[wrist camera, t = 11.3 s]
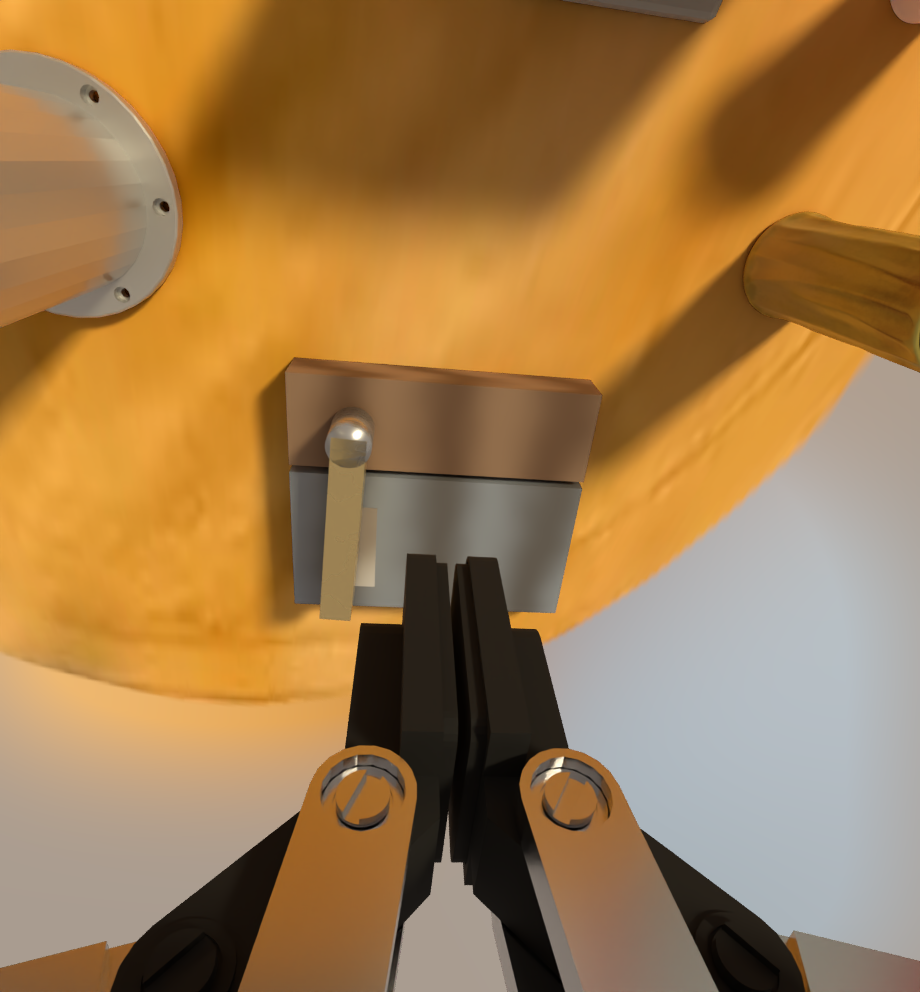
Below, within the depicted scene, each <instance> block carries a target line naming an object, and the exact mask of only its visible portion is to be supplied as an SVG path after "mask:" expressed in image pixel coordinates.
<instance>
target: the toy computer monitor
mask: <svg viewBox="0 0 920 992" xmlns="http://www.w3.org/2000/svg"><path fill="white" fill-rule="evenodd" d="M563 1H569V2H575V3H581V4H587V5H594V6H600V7H606V8H612V9H618V10H624V11H631V12H637V13H643V14H649V15H655V16H662V17H668V18H674V19H680V20H686V21H692V22H699V23H706V22H708V21H710V20H711V19H713V18H714V17H716V14H717V12H718V10H719V7H720V5H721V2H722V0H563Z"/></svg>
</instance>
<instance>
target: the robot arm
mask: <svg viewBox="0 0 920 992" xmlns="http://www.w3.org/2000/svg"><path fill="white" fill-rule="evenodd" d="M95 91H97V92H98V95H99V102H98V103H97V102H96V101H95V100H94V97H93V93H94V92H95ZM164 201H165V202H167V203H168V205H169V207H170V210H169V211H166V210H165V209H164V208H163V202H164ZM182 230H183V217H182V202H181V198H180V194H179V189H178V185H177V181H176V177H175V175H174V172H173V170H172V167H171V165H170V163H169V160H168V158H167V155H166V153H165V151H164V149H163V148H162V146H161V145H160V143H159V141H158V140H157V138H156V136H155V135H154V133H153V131H152V130H151V128H150V127H149V126H148V124H147V123H146V122H145V121H144V120H143V118H142V117H141V116H140V115H139V114H138V112H137V111H136V110H135V109H134V108H133V106H132V105H131V104H129V103H128V102H127V101H126V100H125V99H124V98H123V97H122V96H120V95H119V94H118V93H117V92H116V91H115V90H114V89H113V88H111V87H110V86H109V85H108V84H106V83H104V82H103V81H101V80H100V79H98V78H97V77H95V76H94V75H92V74H90V73H89V72H87V71H86V70H84V69H81V68H79V67H77V66H75V65H72V64H70V63H68V62H65V61H63V60H61V59H58V58H54V57H50V56H46V55H43V54H39V53H35V52H26V51H18V50H2V51H0V328H1V327H4V326H6V325H9V324H11V323H14V322H16V321H19V320H21V319H24V318H26V317H29V316H31V315H34V314H36V313H39V312H41V311H44V310H45V311H48V312H50V313H53V314H58V315H64V316H70V317H76V318H99V317H103V316H108V315H113V314H117V313H120V312H123V311H125V310H127V309H129V308H132V307H134V306H135V305H137V304H139V303H141V302H142V301H144V300H145V299H147V298H149V297H150V296H151V295H152V294H153V293H154V292H155V291H156V290H157V289H158V288H159V287H160V286H161V285H162V284H163V283H164V282H165V280H166V278H167V277H168V275H169V273H170V272H171V270H172V269H173V267H174V264H175V261H176V258H177V255H178V253H179V250H180V246H181V238H182ZM125 288H126V289H127V290H128V291H129V293H130V296H128V295H127V294H125ZM448 814H449V836H450V855H451V862H463V869H464V885H473V894H474V895H475V896H476V897H477V898H478V899H479V900H480V901H481V902H482V903H483V904H484V905H485V906H486V907H487V908H489V909H490V910H491V915H492V927H493V932H494V936H495V940H496V945H497V949H498V953H499V957H500V962H501V966H502V971H503V975H504V979H505V984H506V988H507V992H920V961H918V960H914V959H910V958H905V957H901V956H897V955H893V954H889V953H885V952H880V951H877V950H872V949H868V948H864V947H860V946H856V945H852V944H848V943H844V942H839V941H835V940H831V939H827V938H823V937H818V936H815V935H810V934H806V933H802V932H798V931H793V932H792V934H791V936H790V937H786V936H782V935H778V934H777V933H776V932H775V931H774V930H772V929H771V928H770V927H769V926H768V925H767V924H766V923H765V922H764V921H763V920H762V919H760V918H759V917H758V916H757V915H755V914H754V913H753V912H751V911H750V910H748V909H747V908H746V907H745V906H743V905H742V904H741V903H739V902H738V901H737V900H735V899H734V898H733V897H731V896H730V895H729V894H727V893H726V892H725V891H723V890H722V889H721V888H719V887H718V886H717V885H715V884H714V883H713V882H711V881H710V880H709V879H707V878H706V877H704V876H703V875H702V874H701V873H699V872H698V871H697V870H695V869H694V868H693V867H691V866H690V865H689V864H687V863H686V862H684V861H683V860H682V859H681V858H679V857H678V856H677V855H675V854H674V853H673V852H671V851H670V850H668V849H667V848H666V847H664V846H663V845H662V844H660V843H659V842H658V841H656V840H655V839H654V838H652V837H651V836H650V835H648V834H647V833H646V832H644V831H643V830H642V829H640V828H639V825H638V824H637V821H636V819H635V817H634V815H633V813H632V811H631V809H630V807H629V805H628V803H627V801H626V799H625V797H624V794H623V793H622V790H621V788H620V786H619V784H618V783H617V782H616V780H615V779H614V777H613V775H612V774H611V772H610V771H609V770H607V769H606V768H605V767H604V766H603V765H602V764H601V763H600V762H599V761H597V760H596V759H594V758H592V757H590V756H588V755H587V754H585V753H582V752H579V751H575V750H572V749H569V748H568V744H567V740H566V736H565V732H564V728H563V724H562V720H561V716H560V712H559V709H558V704H557V701H556V697H555V693H554V689H553V685H552V681H551V677H550V673H549V669H548V665H547V662H546V658H545V654H544V650H543V646H542V642H541V638H540V635H539V632H538V631H537V630H536V629H516V628H511V625H510V620H509V615H508V610H507V605H506V600H505V595H504V590H503V585H502V580H501V574H500V569H499V564H498V560H497V558H495V557H473V556H468V557H467V559H466V564H457V563H456V565H455V571H454V580H453V588H452V597H451V606H450V595H449V580H448V566H447V563H437V561H436V555H430V554H408V553H407V559H406V574H405V589H404V604H403V620H402V625H400V624H371V623H361V626H360V633H359V641H358V649H357V657H356V665H355V673H354V681H353V689H352V697H351V705H350V713H349V721H348V729H347V737H346V745H345V749H343V750H341V751H340V752H338V753H336V754H334V755H332V756H331V757H329V758H328V759H327V760H326V761H325V762H324V763H323V764H322V765H321V766H320V767H319V768H318V769H317V771H316V773H315V775H314V776H313V778H312V780H311V782H310V784H309V788H308V790H307V793H306V796H305V799H304V802H303V805H302V808H301V810H300V811H299V812H298V813H297V814H296V815H294V816H293V817H292V818H290V819H289V820H288V821H287V822H285V823H284V824H283V825H281V826H280V827H279V828H278V829H276V830H275V831H274V832H272V833H271V834H270V835H269V836H267V837H266V838H265V839H263V840H262V841H261V842H260V843H258V844H257V845H256V846H254V847H253V848H252V849H251V850H249V851H248V852H247V853H245V854H244V855H243V856H242V857H240V858H239V859H238V860H237V861H235V862H234V863H233V864H231V865H230V866H229V867H228V868H226V869H225V870H224V871H222V872H221V873H220V874H219V875H217V876H216V877H215V878H214V879H212V880H211V881H210V882H209V883H207V884H206V885H205V886H203V887H202V888H201V889H199V890H198V891H197V892H196V893H194V894H193V895H192V896H190V897H189V898H188V899H187V900H185V901H184V902H183V903H181V904H180V905H179V906H178V907H176V908H175V909H174V910H172V911H171V912H170V913H169V914H167V915H166V916H165V917H164V918H162V919H161V920H160V921H158V922H157V923H156V924H155V925H153V926H152V927H151V928H150V929H149V930H148V931H147V932H146V933H145V934H144V935H143V936H142V937H141V938H140V939H139V940H138V941H137V942H133V943H129V944H125V945H121V946H117V947H113V948H109V947H108V944H107V941H105V942H101V943H97V944H93V945H89V946H85V947H81V948H77V949H73V950H69V951H66V952H61V953H57V954H54V955H50V956H46V957H42V958H38V959H34V960H30V961H26V962H22V963H18V964H14V965H10V966H6V967H2V968H0V992H394V991H395V985H396V978H397V972H398V965H399V959H400V953H401V946H402V939H403V933H404V925H405V921H406V920H407V919H408V918H409V917H410V915H411V914H412V913H413V912H414V911H415V910H416V909H417V908H418V907H419V906H420V905H421V904H422V902H423V901H424V900H425V899H426V898H427V897H428V896H429V895H430V892H431V885H432V877H433V869H434V862H441V859H442V852H443V845H444V838H445V830H446V822H447V815H448Z"/></svg>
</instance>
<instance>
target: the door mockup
mask: <svg viewBox="0 0 920 992" xmlns="http://www.w3.org/2000/svg"><path fill="white" fill-rule="evenodd" d="M285 383H286V407H287V431H288V454H289V465H292V467H291V469H290V471H289V478H290V501H291V525H292V548H293V572H294V596H295V603H298V604H320V603H321V587H322V571H323V555H324V539H325V523H326V507H327V490H328V474H329V457H328V456H327V454H326V451H325V441H326V438H327V435H328V432H329V429H330V426H331V423H332V420H333V418H334V416H335V414H336V413H337V412H338V411H340V410H341V409H344V408H347V407H357V408H361V409H363V410H365V411H366V412H367V413H368V414H369V415H370V416H371V417H372V419H373V421H374V424H375V432H374V438H373V444H372V450H371V455H370V457H369V459H368V460H367V465H366V476H365V487H364V497H363V508H362V518H361V529H360V540H359V550H358V561H357V571H356V582H355V593H354V599H353V606H379V607H403V604H404V589H405V574H406V559H407V553H408V554H430V555H436V561H437V563H447V566H448V580H449V595H450V606H451V597H452V588H453V580H454V571H455V565H456V563H457V564H466V559H467V557H468V556H473V557H495V558H497V560H498V564H499V569H500V574H501V580H502V585H503V590H504V595H505V600H506V605H507V610H508V611H513V612H540V613H555V612H556V607H557V603H558V598H559V593H560V589H561V584H562V579H563V575H564V570H565V566H566V561H567V556H568V552H569V547H570V542H571V538H572V533H573V529H574V524H575V519H576V515H577V510H578V506H579V501H580V496H581V492H582V488H581V486H580V484H579V482H584V478H585V473H586V469H587V464H588V459H589V455H590V450H591V445H592V441H593V436H594V432H595V427H596V422H597V418H598V413H599V409H600V404H601V399H602V394H601V393H600V392H599V390H598V389H597V388H596V387H595V385H594V384H593V383H592V382H591V380H584V379H571V378H558V377H545V376H532V375H518V374H505V373H492V372H479V371H466V370H453V369H439V368H426V367H413V366H400V365H387V364H373V363H360V362H347V361H334V360H321V359H307V358H294V359H293V360H292V362H291V363H290V365H289V367H288V368H287V370H286V371H285Z"/></svg>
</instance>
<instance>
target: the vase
mask: <svg viewBox="0 0 920 992" xmlns="http://www.w3.org/2000/svg"><path fill="white" fill-rule="evenodd" d="M743 283H744V289H745V293H746V296H747V298H748V300H749V302H750V304H751V305H752V306H753V307H754V308H755V309H756V310H758V311H759V312H760V313H762V314H763V315H765V316H768V317H770V318H780V319H784V320H787V321H790V322H792V323H795V324H798V325H801V326H803V327H805V328H808V329H810V330H812V331H815V332H817V333H820V334H823V335H825V336H828V337H831V338H833V339H836V340H839V341H842V342H844V343H847V344H850V345H853V346H856V347H859V348H861V349H864V350H866V351H868V352H870V353H872V354H874V355H877V356H879V357H882V358H885V359H887V360H889V361H892V362H894V363H897V364H899V365H902V366H905V367H907V368H909V369H912V370H915V371H917V372H919V373H920V236H918V235H913V234H907V233H902V232H896V231H890V230H885V229H879V228H873V227H866V226H856V225H850V224H845V223H841V222H838V221H834V220H832V219H830V218H828V217H827V216H824V215H822V214H819V213H815V212H799V213H795V214H792V215H789V216H787V217H785V218H783V219H781V220H779V221H777V222H776V223H774V224H773V225H771V226H770V227H769V228H768V229H767V230H766V231H765V232H764V233H763V234H762V235H761V236H760V237H759V239H758V240H757V241H756V243H755V244H754V246H753V247H752V249H751V251H750V253H749V255H748V258H747V261H746V264H745V268H744V276H743Z"/></svg>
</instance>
